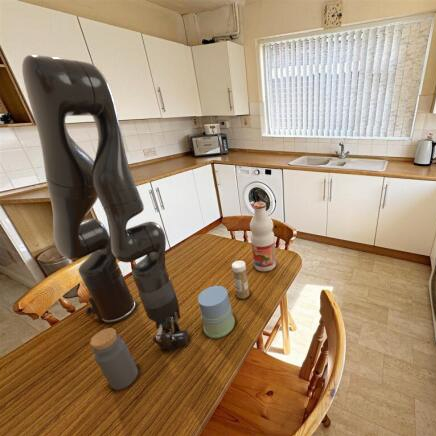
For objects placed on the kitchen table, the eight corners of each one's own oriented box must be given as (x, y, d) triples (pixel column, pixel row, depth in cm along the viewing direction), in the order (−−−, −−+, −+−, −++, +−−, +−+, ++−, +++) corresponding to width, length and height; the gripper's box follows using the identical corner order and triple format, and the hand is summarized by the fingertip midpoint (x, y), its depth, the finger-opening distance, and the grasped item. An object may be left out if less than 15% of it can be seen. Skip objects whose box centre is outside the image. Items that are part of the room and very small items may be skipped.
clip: (160, 349, 67) (157, 342, 65) (164, 340, 69) (161, 332, 68) (186, 345, 67) (184, 337, 66) (189, 336, 70) (186, 328, 69)
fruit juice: (281, 265, 100) (277, 203, 88) (263, 275, 95) (256, 210, 83) (267, 256, 107) (262, 197, 95) (249, 265, 101) (241, 204, 89)
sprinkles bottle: (251, 295, 85) (247, 264, 79) (239, 301, 82) (234, 269, 77) (246, 288, 88) (242, 258, 82) (234, 293, 86) (229, 262, 80)
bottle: (133, 362, 64) (113, 321, 57) (142, 375, 60) (122, 334, 54) (107, 379, 60) (83, 338, 53) (115, 395, 56) (90, 353, 50)
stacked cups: (201, 340, 69) (192, 309, 64) (206, 315, 77) (199, 286, 72) (233, 335, 70) (227, 304, 65) (235, 311, 78) (230, 282, 73)
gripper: (153, 280, 67) (168, 324, 74) (130, 320, 54) (152, 368, 61) (181, 277, 68) (193, 320, 75) (165, 315, 55) (182, 363, 62)
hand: (175, 342), depth 68 cm, fingers open, 3 cm apart
